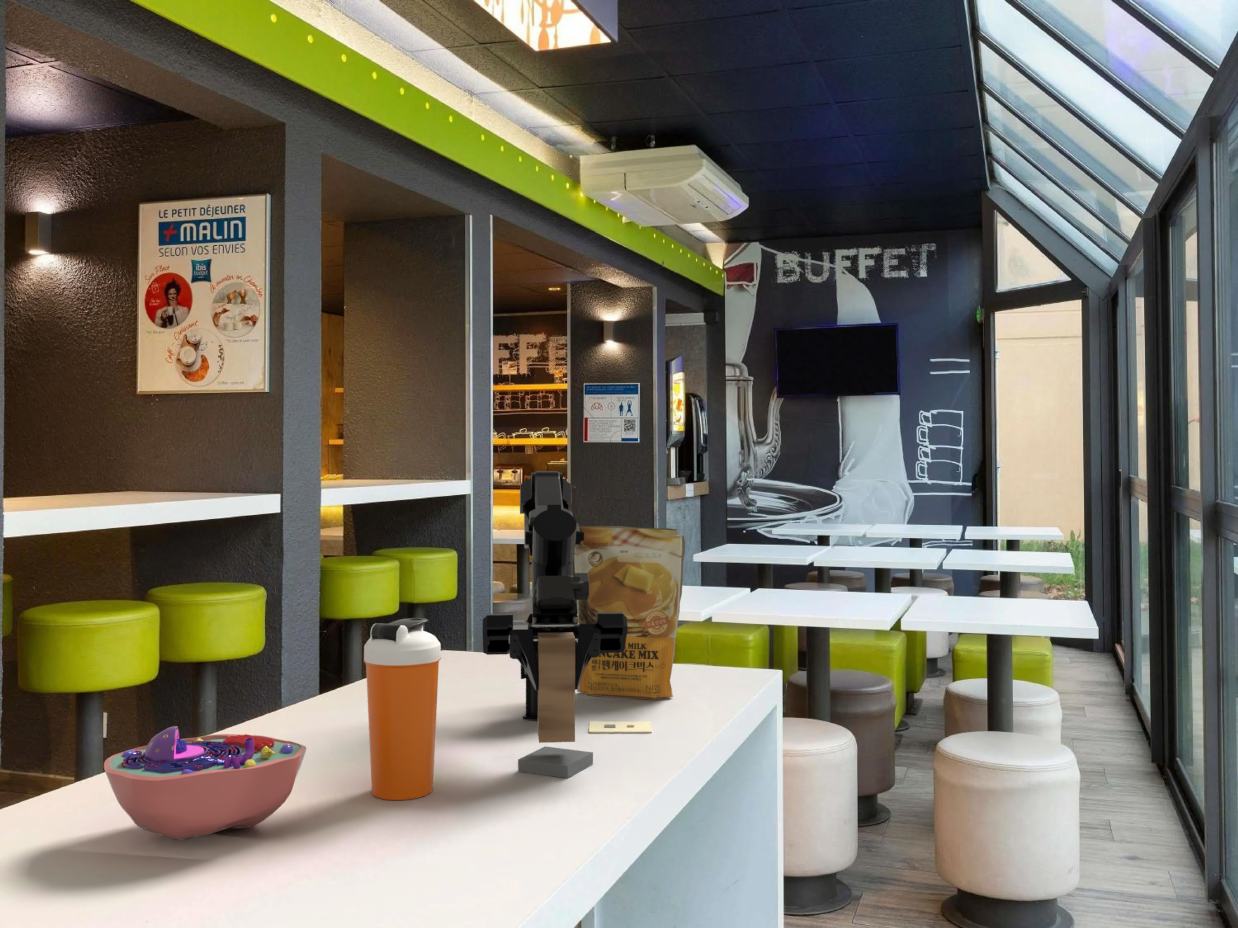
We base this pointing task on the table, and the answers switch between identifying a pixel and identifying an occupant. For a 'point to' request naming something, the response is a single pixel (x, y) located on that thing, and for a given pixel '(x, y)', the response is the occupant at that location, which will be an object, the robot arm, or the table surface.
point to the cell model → (203, 781)
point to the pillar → (556, 687)
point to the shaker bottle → (402, 707)
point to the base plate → (555, 762)
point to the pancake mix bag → (632, 606)
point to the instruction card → (620, 727)
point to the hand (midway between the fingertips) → (556, 688)
